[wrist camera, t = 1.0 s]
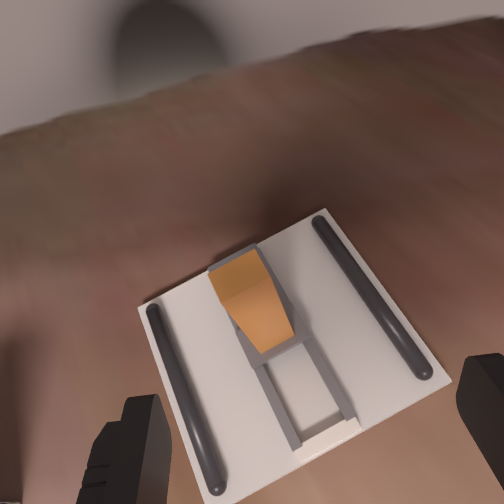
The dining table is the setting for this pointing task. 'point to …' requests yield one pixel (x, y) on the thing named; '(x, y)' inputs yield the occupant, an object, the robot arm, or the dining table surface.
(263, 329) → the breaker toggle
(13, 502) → the syrup box
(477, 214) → the dining table surface
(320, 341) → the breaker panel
